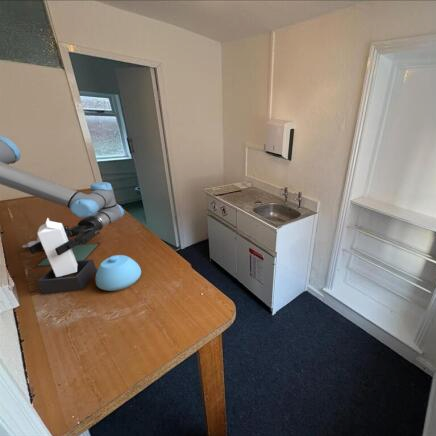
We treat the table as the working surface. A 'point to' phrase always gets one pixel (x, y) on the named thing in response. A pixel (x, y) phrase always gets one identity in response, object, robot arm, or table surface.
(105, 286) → the sugar bowl
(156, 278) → the table surface
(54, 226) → the milk
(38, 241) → the glue bottle
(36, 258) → the table surface
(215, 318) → the table surface
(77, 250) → the mat
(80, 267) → the box
